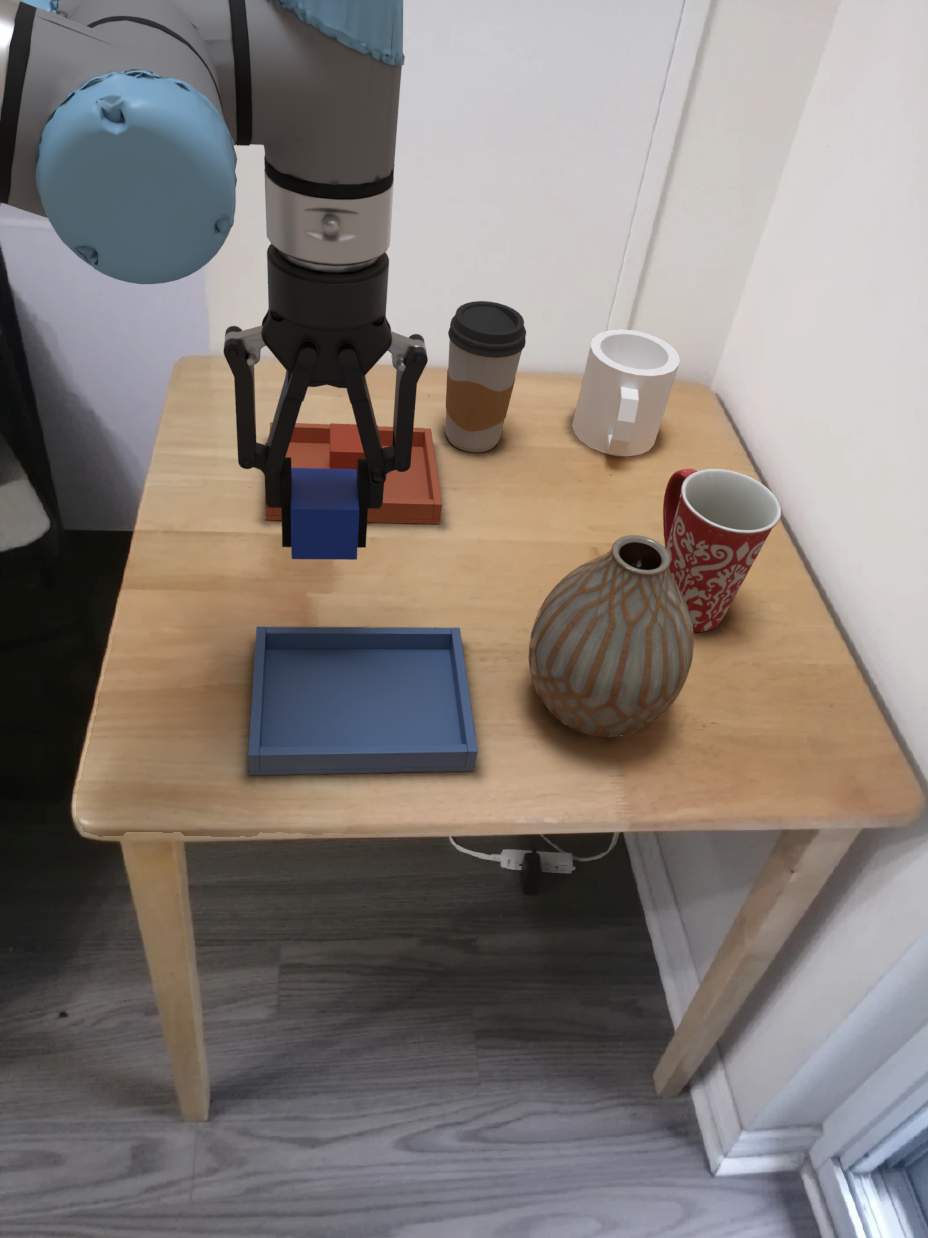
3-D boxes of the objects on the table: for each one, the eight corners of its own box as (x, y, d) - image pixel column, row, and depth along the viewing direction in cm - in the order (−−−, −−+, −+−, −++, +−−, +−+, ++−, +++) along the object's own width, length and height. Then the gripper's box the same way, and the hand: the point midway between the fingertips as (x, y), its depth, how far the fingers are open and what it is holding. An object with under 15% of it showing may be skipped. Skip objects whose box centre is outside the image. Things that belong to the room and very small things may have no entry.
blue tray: (249, 775, 72) (248, 755, 71) (257, 647, 82) (256, 626, 80) (473, 771, 75) (478, 751, 73) (456, 647, 85) (459, 627, 83)
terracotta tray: (265, 520, 94) (265, 499, 92) (270, 441, 103) (270, 421, 102) (439, 524, 97) (442, 504, 95) (429, 447, 106) (431, 428, 104)
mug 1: (659, 478, 107) (686, 397, 100) (571, 465, 107) (591, 383, 100) (652, 414, 117) (676, 336, 109) (572, 402, 117) (590, 323, 109)
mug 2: (750, 633, 91) (801, 525, 81) (667, 646, 88) (711, 536, 79) (690, 548, 99) (731, 441, 89) (613, 558, 96) (646, 449, 87)
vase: (662, 661, 87) (720, 513, 74) (669, 776, 77) (737, 629, 65) (522, 639, 86) (557, 487, 74) (512, 752, 77) (550, 599, 65)
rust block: (329, 490, 98) (330, 451, 94) (329, 462, 101) (330, 422, 98) (377, 492, 98) (380, 452, 95) (375, 463, 102) (378, 424, 98)
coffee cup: (514, 428, 111) (536, 309, 101) (497, 466, 105) (519, 344, 95) (447, 410, 112) (462, 291, 102) (427, 447, 106) (440, 325, 96)
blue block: (291, 559, 72) (290, 508, 69) (291, 518, 76) (291, 467, 72) (356, 559, 73) (359, 509, 69) (354, 518, 76) (356, 468, 73)
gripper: (171, 265, 54) (202, 567, 70) (480, 282, 57) (441, 568, 73) (182, 211, 59) (209, 504, 75) (465, 230, 62) (432, 507, 78)
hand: (323, 535), depth 74 cm, fingers closed on blue block, 5 cm apart
